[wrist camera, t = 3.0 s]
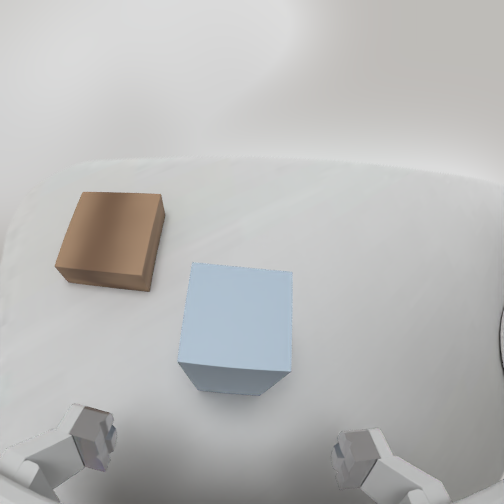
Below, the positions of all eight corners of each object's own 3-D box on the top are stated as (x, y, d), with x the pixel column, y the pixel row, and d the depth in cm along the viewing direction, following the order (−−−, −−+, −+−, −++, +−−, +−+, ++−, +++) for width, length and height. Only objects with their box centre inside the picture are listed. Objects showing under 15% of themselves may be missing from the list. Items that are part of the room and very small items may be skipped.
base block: (165, 217, 26) (160, 194, 23) (150, 293, 22) (141, 275, 20) (92, 213, 26) (82, 191, 23) (70, 284, 22) (54, 266, 19)
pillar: (262, 338, 21) (292, 272, 13) (259, 395, 19) (290, 371, 10) (204, 333, 21) (192, 262, 12) (198, 390, 19) (177, 361, 10)
